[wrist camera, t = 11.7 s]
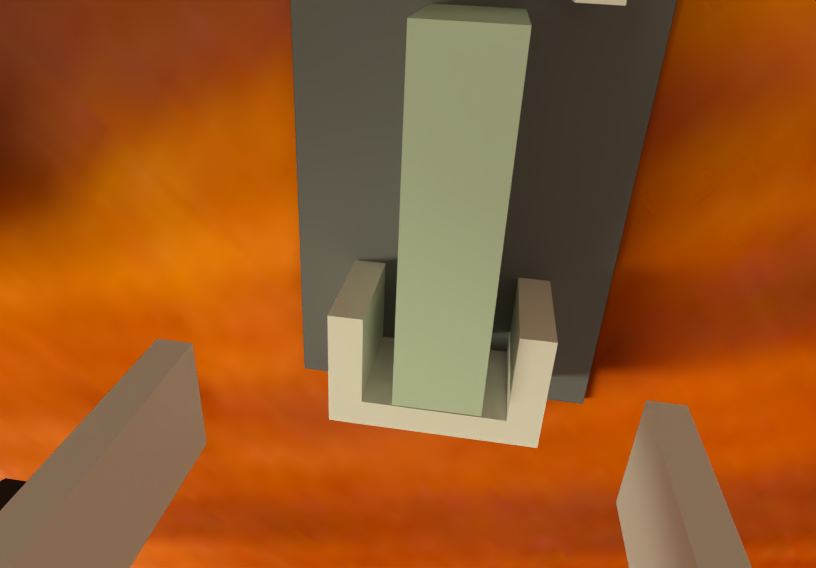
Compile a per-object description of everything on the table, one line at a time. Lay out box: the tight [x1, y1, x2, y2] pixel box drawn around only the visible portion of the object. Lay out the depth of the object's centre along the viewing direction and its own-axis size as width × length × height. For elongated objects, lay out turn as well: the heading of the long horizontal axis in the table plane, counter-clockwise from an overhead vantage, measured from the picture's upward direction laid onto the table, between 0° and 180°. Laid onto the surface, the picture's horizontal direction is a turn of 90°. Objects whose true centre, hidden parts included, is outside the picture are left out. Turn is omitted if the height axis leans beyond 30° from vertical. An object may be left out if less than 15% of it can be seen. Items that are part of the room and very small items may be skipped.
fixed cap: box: [327, 260, 558, 448], centre depth 27 cm, size 9×5×5 cm, turn 87°
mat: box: [290, 0, 677, 404], centre depth 25 cm, size 14×24×1 cm, turn 177°
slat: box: [392, 3, 532, 416], centre depth 23 cm, size 4×14×6 cm, turn 177°
